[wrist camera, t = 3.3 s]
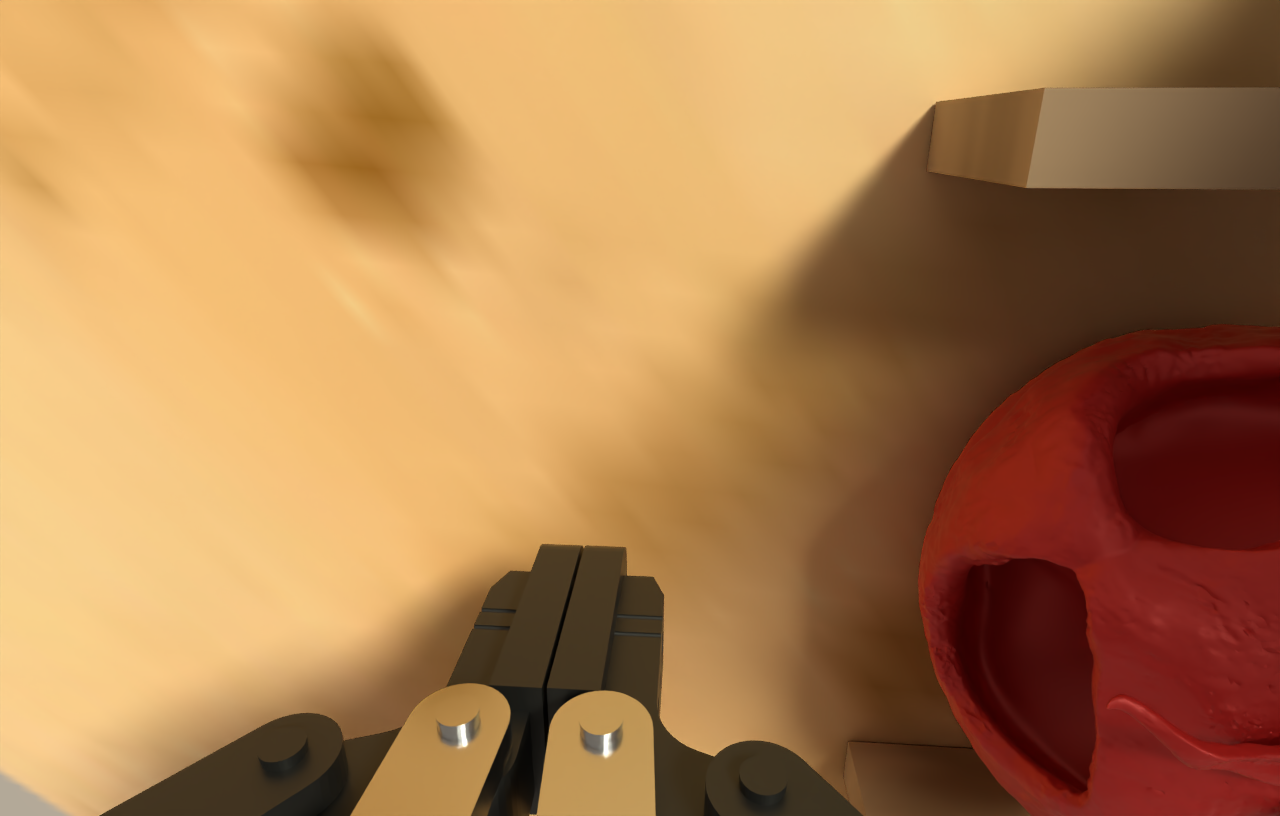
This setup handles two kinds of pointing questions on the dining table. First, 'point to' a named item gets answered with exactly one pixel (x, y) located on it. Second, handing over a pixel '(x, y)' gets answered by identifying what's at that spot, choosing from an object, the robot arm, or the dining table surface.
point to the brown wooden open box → (1067, 158)
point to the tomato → (1120, 580)
